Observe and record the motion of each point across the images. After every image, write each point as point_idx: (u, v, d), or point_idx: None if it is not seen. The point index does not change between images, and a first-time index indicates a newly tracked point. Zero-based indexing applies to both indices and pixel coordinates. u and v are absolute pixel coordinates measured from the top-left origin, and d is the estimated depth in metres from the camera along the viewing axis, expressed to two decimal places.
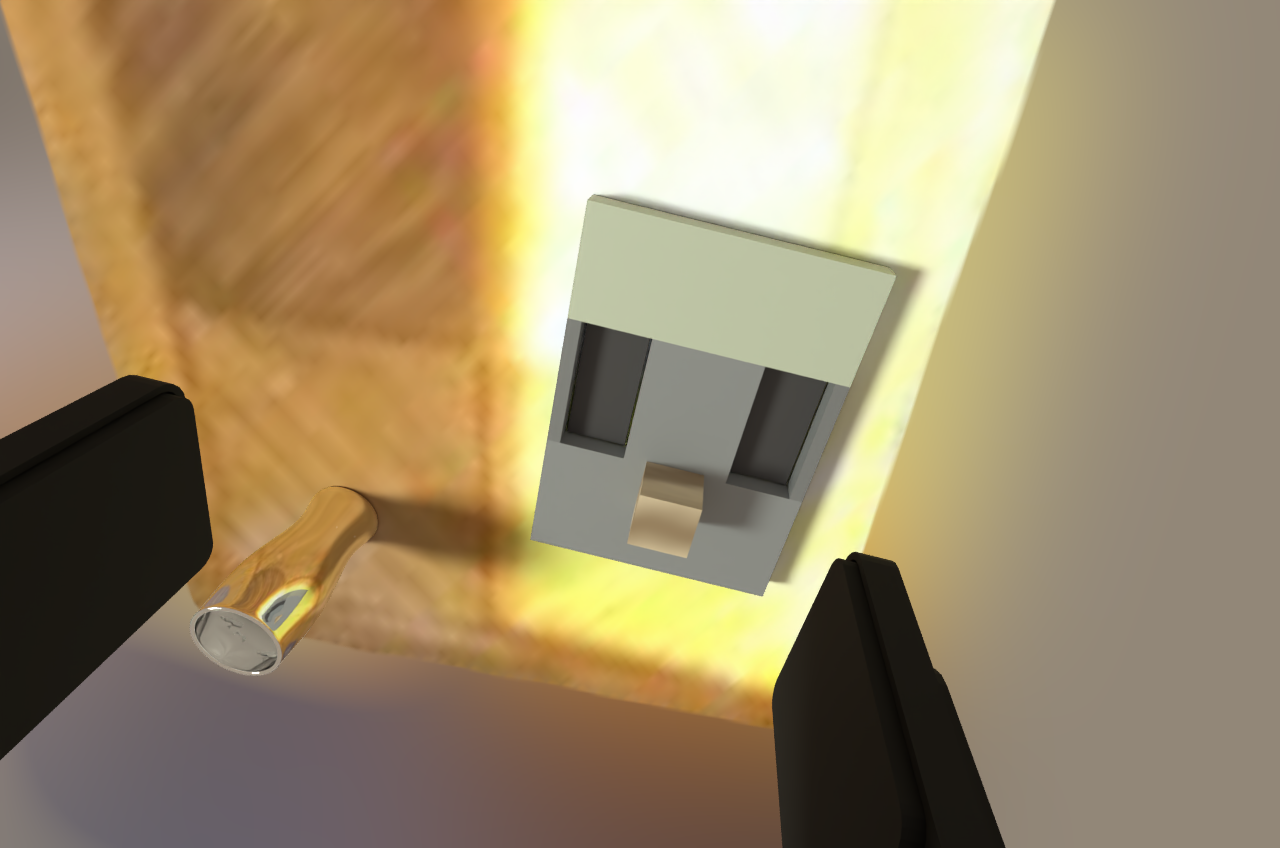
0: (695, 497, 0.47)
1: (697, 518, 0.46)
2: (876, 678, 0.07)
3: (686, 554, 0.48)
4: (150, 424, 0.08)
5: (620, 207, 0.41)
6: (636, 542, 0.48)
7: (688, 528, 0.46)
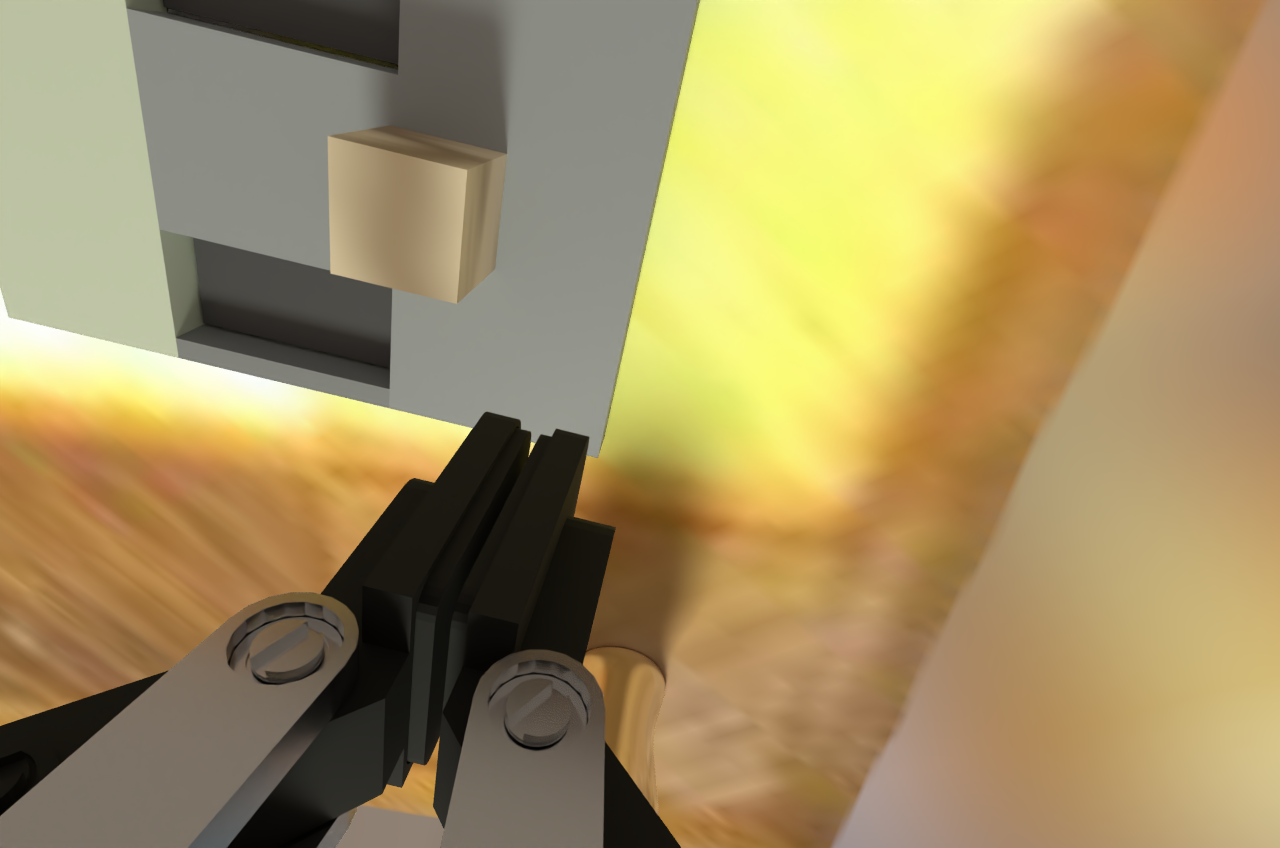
0: None
1: (351, 146, 0.21)
2: (509, 511, 0.08)
3: (456, 170, 0.21)
4: (517, 456, 0.09)
5: None
6: (450, 284, 0.22)
7: (383, 168, 0.21)
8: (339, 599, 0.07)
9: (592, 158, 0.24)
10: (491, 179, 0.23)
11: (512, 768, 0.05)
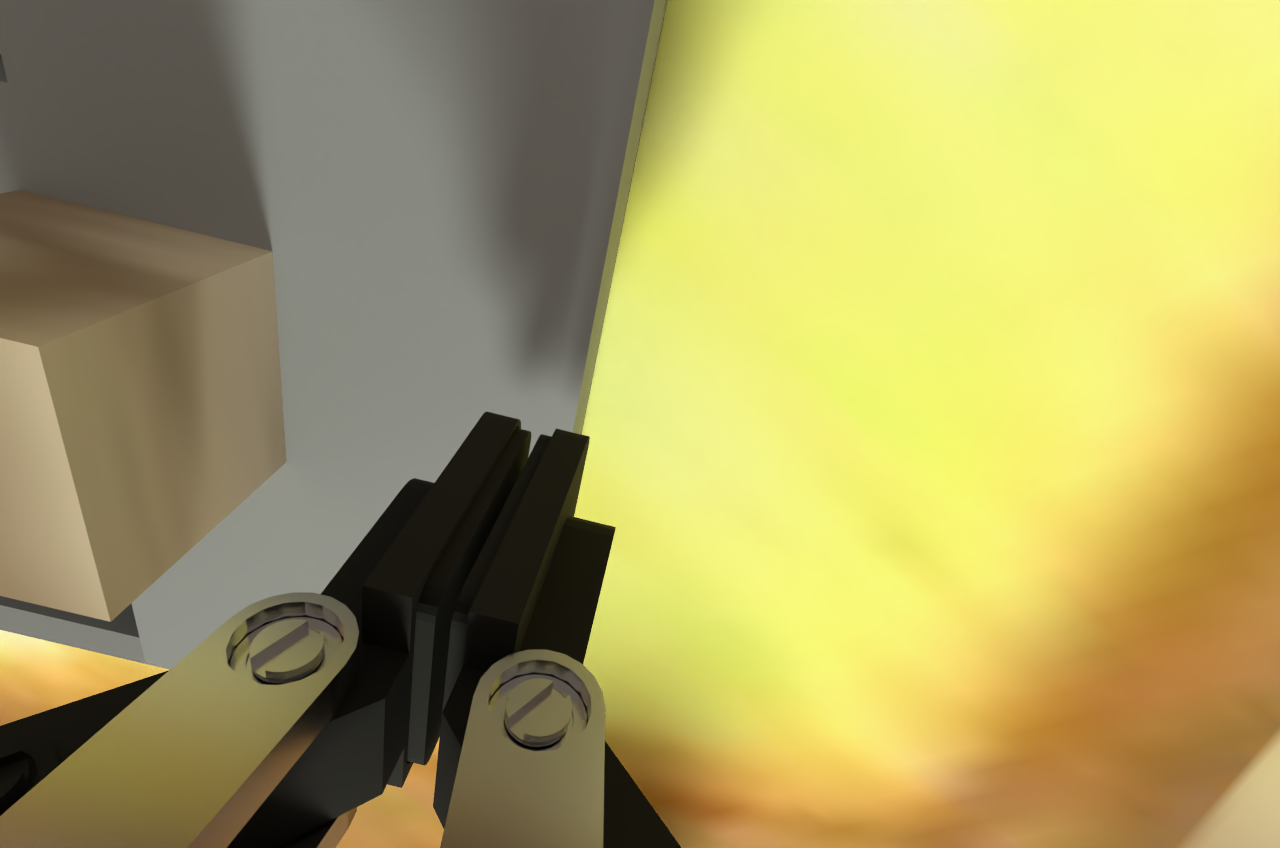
0: None
1: None
2: (509, 511, 0.08)
3: (10, 347, 0.08)
4: (517, 456, 0.09)
5: None
6: (84, 585, 0.09)
7: None
8: (339, 599, 0.07)
9: (452, 263, 0.11)
10: (208, 320, 0.10)
11: (513, 768, 0.05)
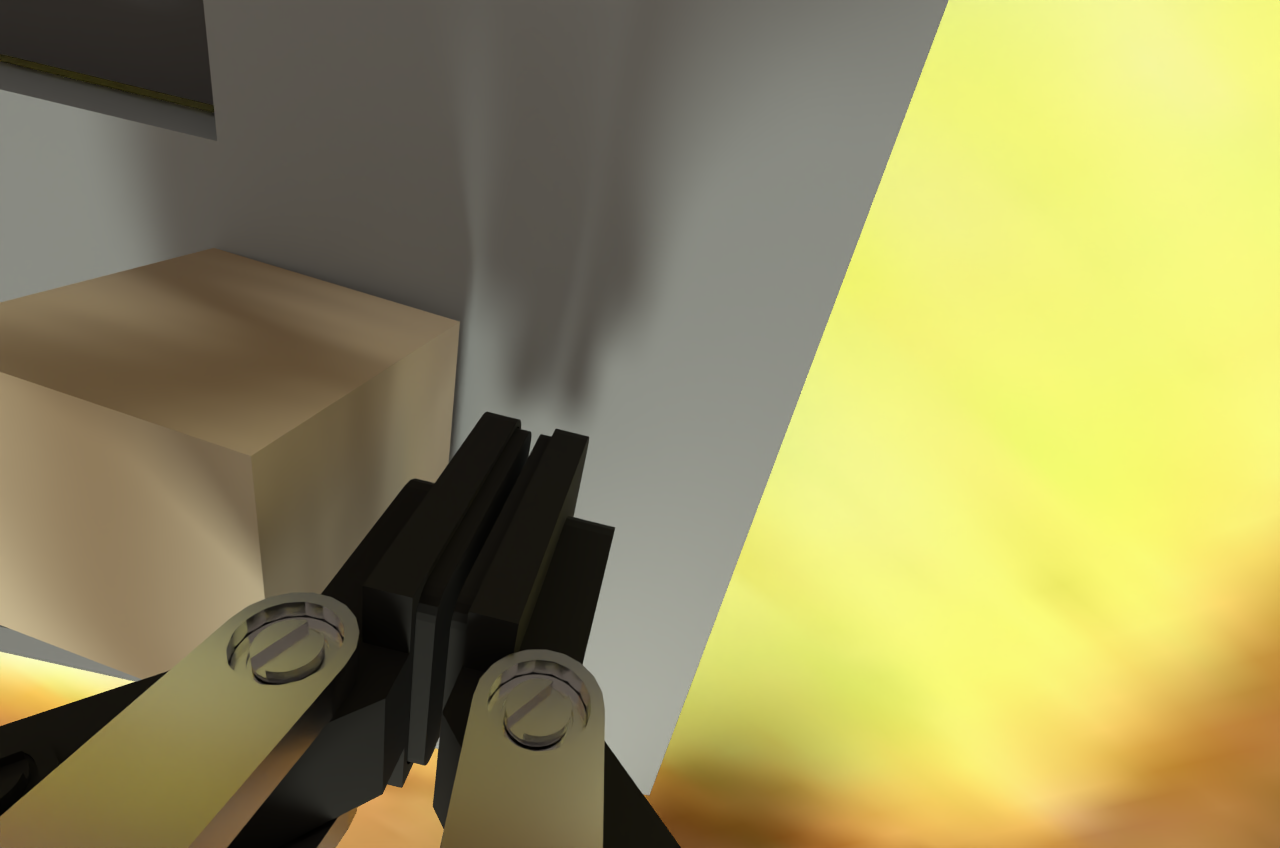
0: None
1: None
2: (509, 511, 0.08)
3: (221, 453, 0.07)
4: (517, 456, 0.09)
5: None
6: None
7: (37, 425, 0.07)
8: (339, 599, 0.07)
9: (665, 322, 0.11)
10: (398, 402, 0.09)
11: (512, 768, 0.05)
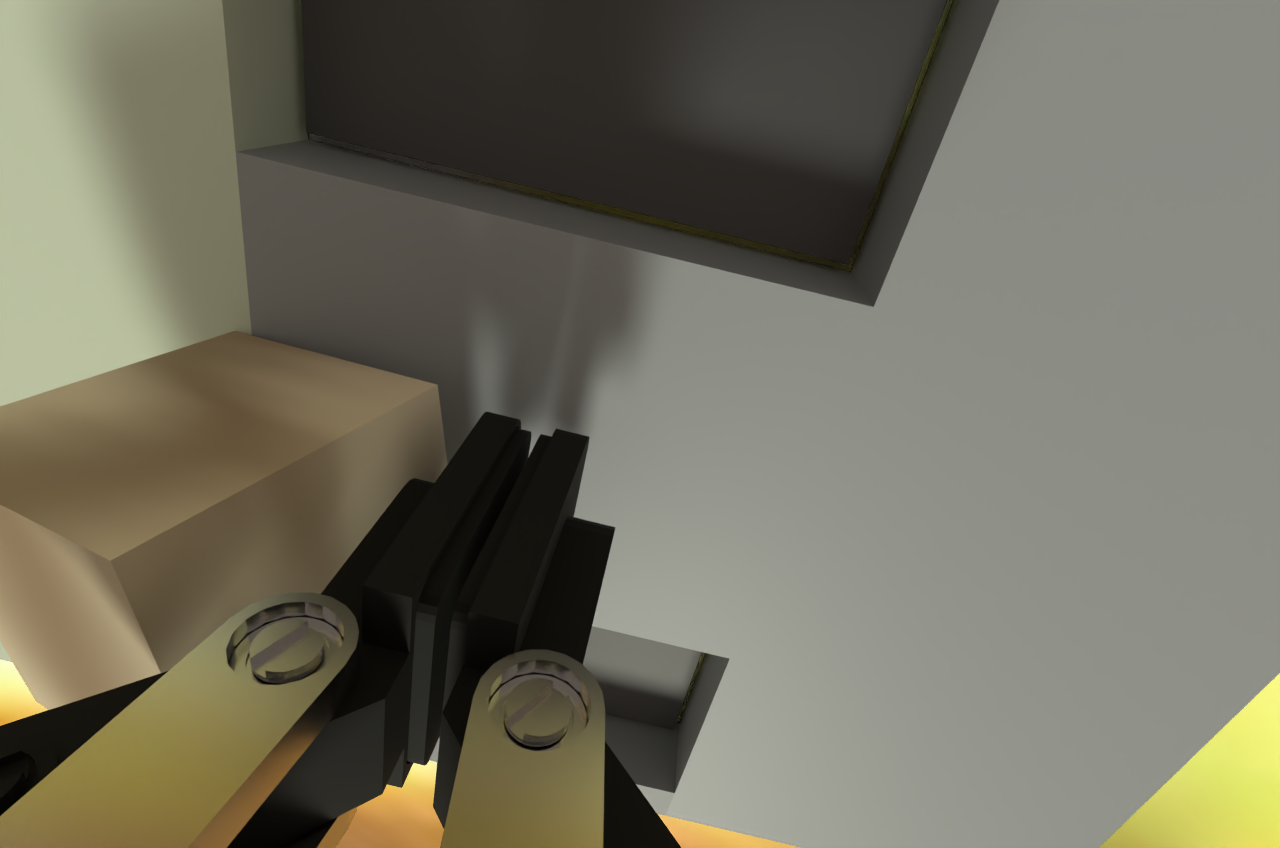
0: None
1: None
2: (509, 511, 0.08)
3: (91, 557, 0.06)
4: (517, 456, 0.09)
5: None
6: None
7: None
8: (339, 599, 0.07)
9: None
10: (352, 480, 0.09)
11: (512, 768, 0.05)
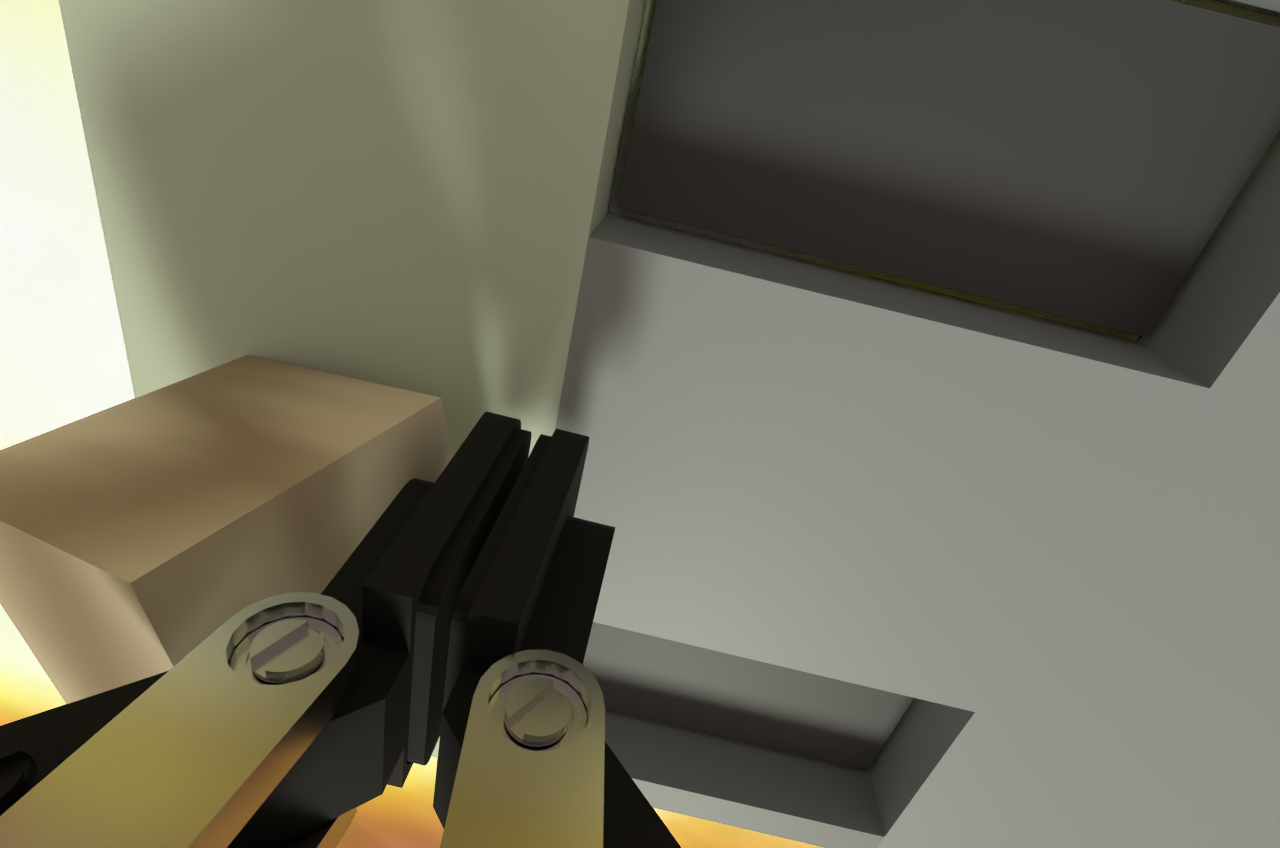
0: None
1: None
2: (509, 511, 0.08)
3: (113, 581, 0.07)
4: (517, 456, 0.09)
5: None
6: None
7: (16, 555, 0.08)
8: (339, 599, 0.07)
9: None
10: (361, 494, 0.09)
11: (512, 768, 0.05)
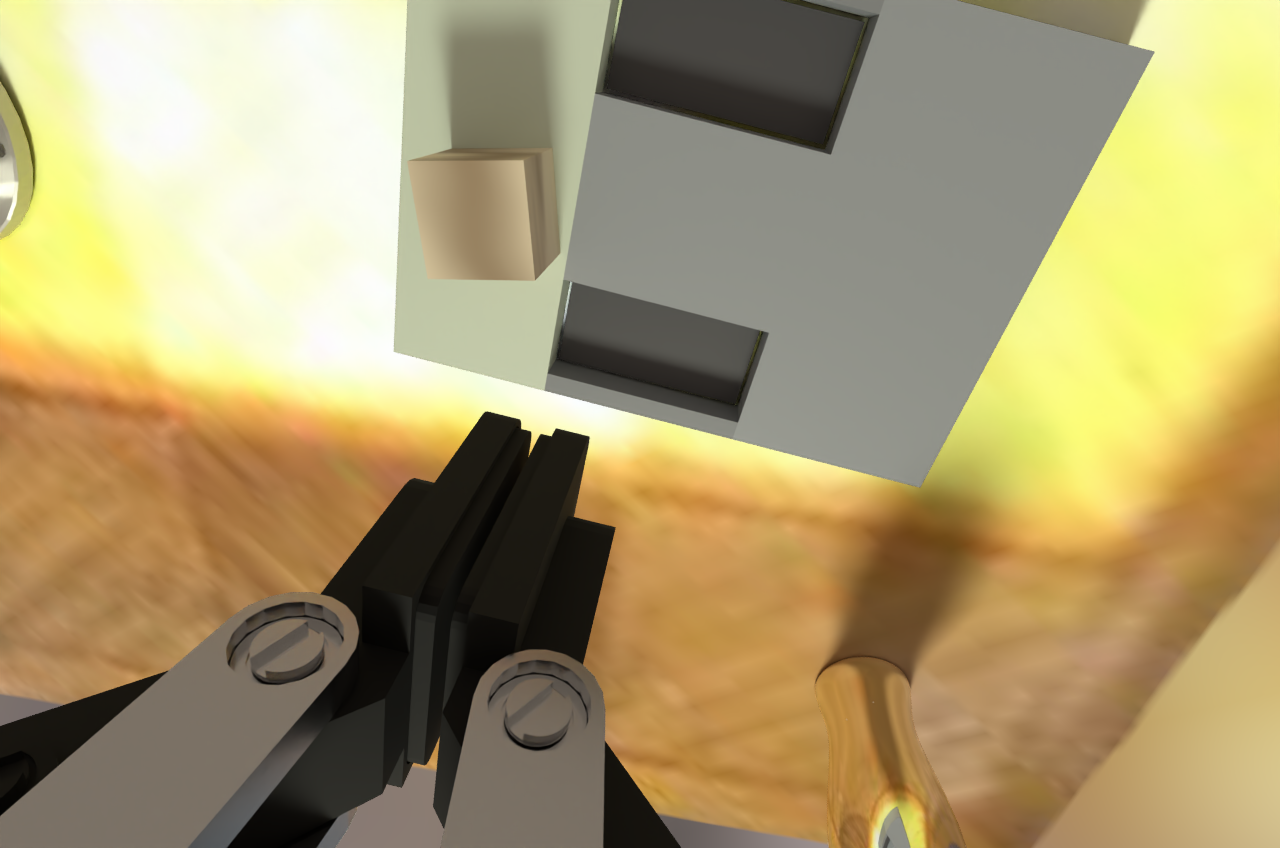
0: None
1: (427, 165, 0.24)
2: (509, 511, 0.08)
3: (514, 163, 0.24)
4: (517, 456, 0.09)
5: None
6: (527, 264, 0.26)
7: (455, 176, 0.25)
8: (339, 599, 0.07)
9: (992, 228, 0.27)
10: (543, 169, 0.27)
11: (513, 768, 0.05)
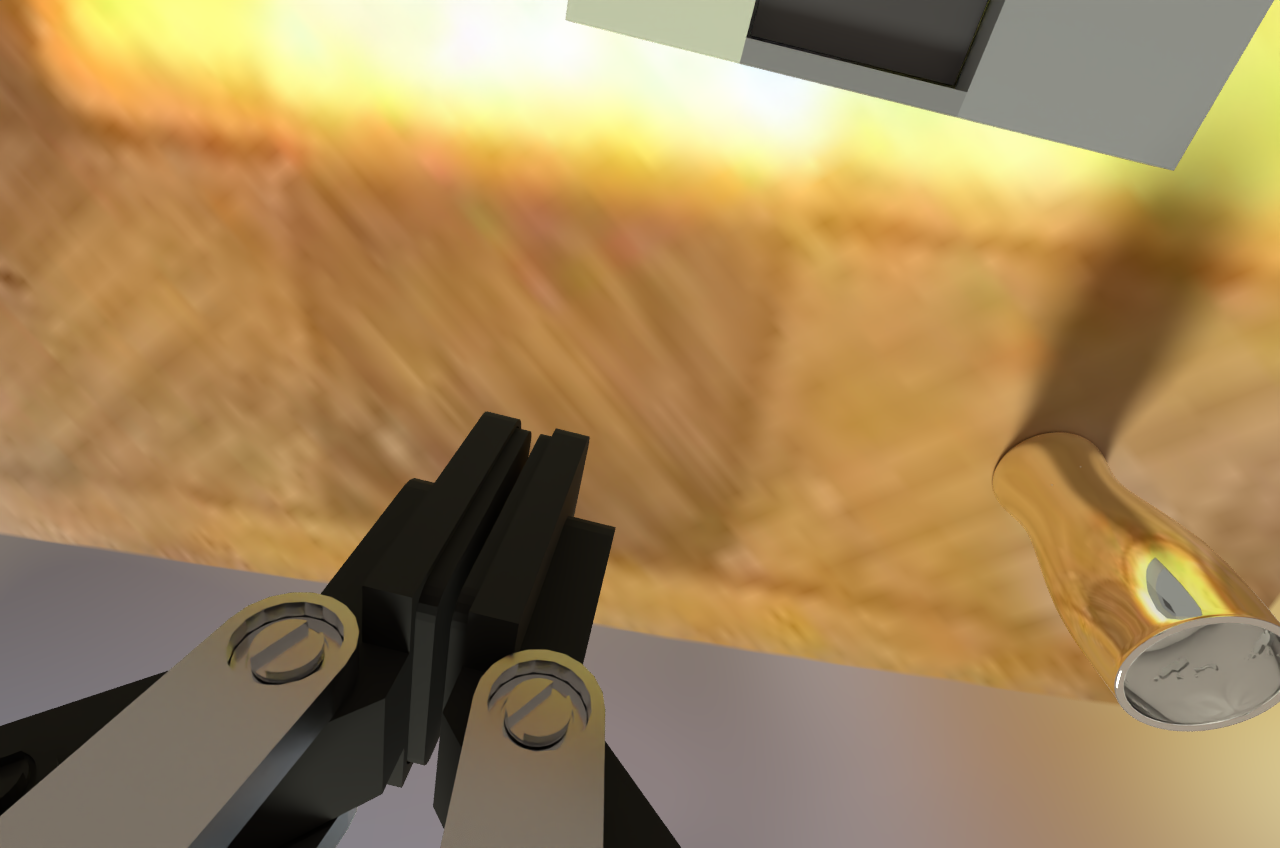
0: None
1: None
2: (509, 511, 0.08)
3: None
4: (517, 456, 0.09)
5: None
6: None
7: None
8: (339, 599, 0.07)
9: None
10: None
11: (512, 768, 0.05)
